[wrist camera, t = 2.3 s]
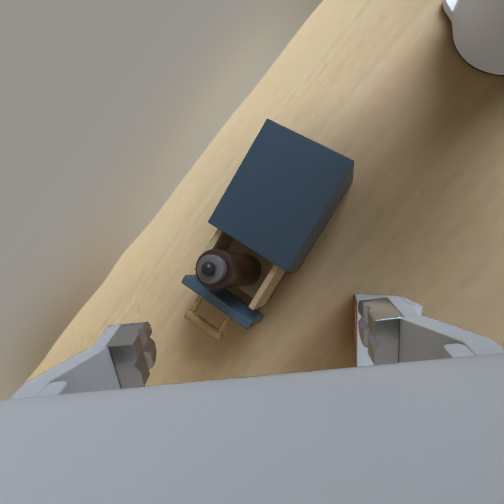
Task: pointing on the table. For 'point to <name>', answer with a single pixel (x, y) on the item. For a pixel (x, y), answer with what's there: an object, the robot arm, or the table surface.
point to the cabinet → (283, 195)
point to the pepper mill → (227, 269)
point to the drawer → (228, 300)
